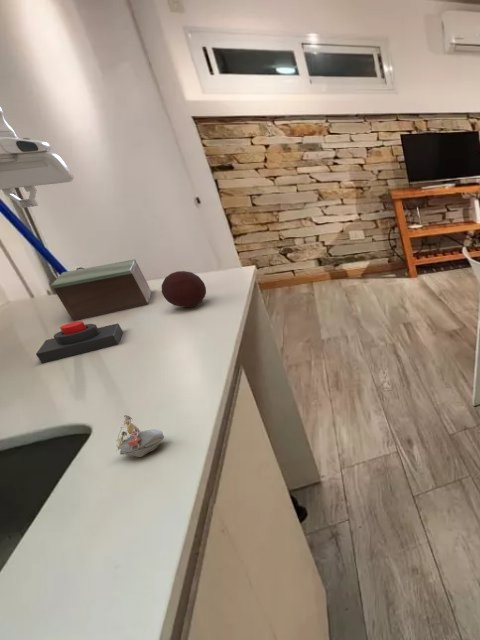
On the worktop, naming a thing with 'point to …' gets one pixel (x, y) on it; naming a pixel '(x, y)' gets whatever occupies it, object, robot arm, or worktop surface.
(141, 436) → the figurine
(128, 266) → the chest lid
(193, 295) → the dark brown oval ball
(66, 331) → the button
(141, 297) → the chest
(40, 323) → the worktop surface
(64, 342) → the button box
